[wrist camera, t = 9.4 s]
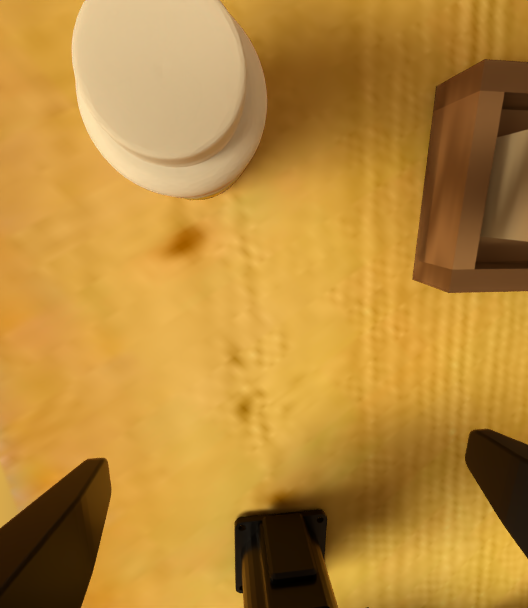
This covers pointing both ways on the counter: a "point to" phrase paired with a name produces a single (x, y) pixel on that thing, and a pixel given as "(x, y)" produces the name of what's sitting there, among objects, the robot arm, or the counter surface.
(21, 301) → the counter surface
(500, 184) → the cream cube
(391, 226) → the counter surface
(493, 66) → the bin
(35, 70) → the counter surface
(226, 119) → the supplement bottle
